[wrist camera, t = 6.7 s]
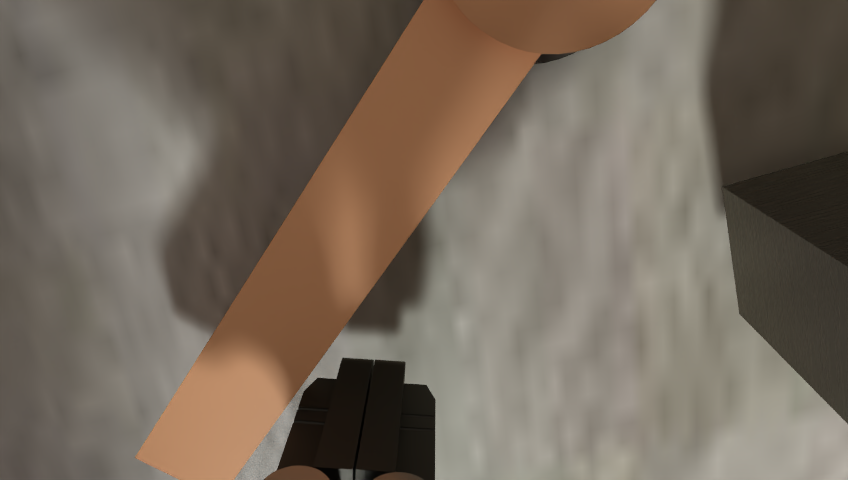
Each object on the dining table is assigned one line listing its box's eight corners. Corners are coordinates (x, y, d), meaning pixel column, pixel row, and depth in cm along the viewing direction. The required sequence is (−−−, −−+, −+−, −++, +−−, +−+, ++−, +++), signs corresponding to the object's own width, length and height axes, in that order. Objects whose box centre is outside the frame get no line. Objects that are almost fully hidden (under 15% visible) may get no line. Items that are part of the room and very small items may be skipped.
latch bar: (138, 388, 14) (66, 483, 11) (514, -238, 10) (549, -335, 7) (272, 457, 15) (235, 562, 12) (681, -95, 10) (773, -131, 8)
